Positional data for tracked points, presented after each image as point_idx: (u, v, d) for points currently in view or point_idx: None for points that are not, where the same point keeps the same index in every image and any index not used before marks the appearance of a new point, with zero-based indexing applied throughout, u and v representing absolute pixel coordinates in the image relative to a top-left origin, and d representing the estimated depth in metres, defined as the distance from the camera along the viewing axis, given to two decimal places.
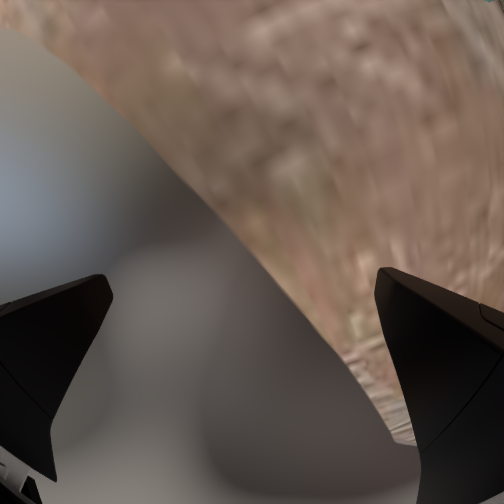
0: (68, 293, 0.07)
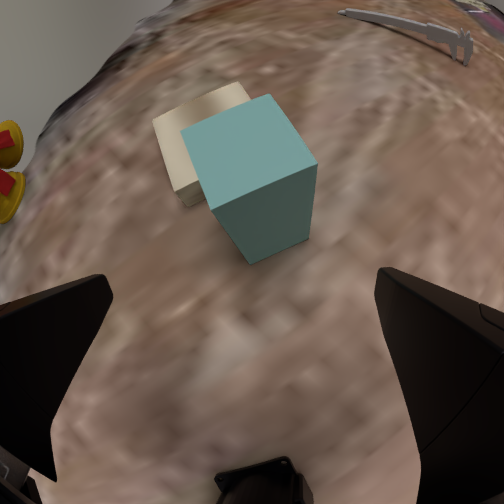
0: (68, 293, 0.07)
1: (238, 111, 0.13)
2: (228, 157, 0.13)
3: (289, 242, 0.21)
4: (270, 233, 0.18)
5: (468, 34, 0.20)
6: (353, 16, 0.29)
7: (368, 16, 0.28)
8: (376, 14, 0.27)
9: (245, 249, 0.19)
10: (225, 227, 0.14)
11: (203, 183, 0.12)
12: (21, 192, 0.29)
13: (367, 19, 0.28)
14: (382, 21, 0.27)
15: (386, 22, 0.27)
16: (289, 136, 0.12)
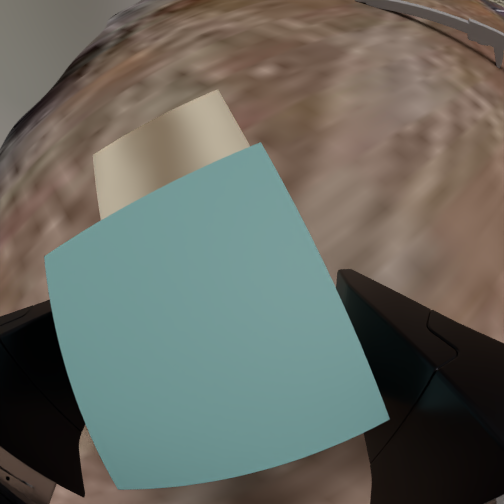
0: None
1: (167, 208, 0.05)
2: (138, 377, 0.04)
3: None
4: None
5: None
6: (375, 4, 0.21)
7: (395, 6, 0.20)
8: (405, 3, 0.19)
9: None
10: None
11: (92, 428, 0.04)
12: None
13: (393, 9, 0.20)
14: (412, 12, 0.19)
15: (418, 14, 0.19)
16: (318, 324, 0.04)
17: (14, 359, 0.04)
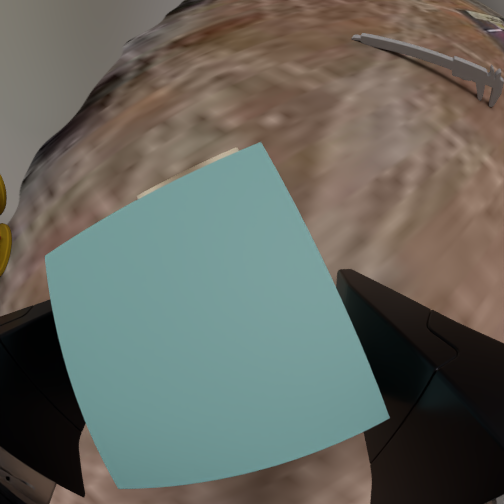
0: None
1: (167, 208, 0.05)
2: (138, 376, 0.04)
3: None
4: None
5: (499, 73, 0.18)
6: (369, 43, 0.27)
7: (387, 45, 0.26)
8: (396, 42, 0.25)
9: None
10: None
11: (92, 427, 0.04)
12: (7, 249, 0.27)
13: (385, 47, 0.26)
14: (402, 51, 0.25)
15: (407, 52, 0.25)
16: (318, 323, 0.04)
17: (14, 359, 0.04)
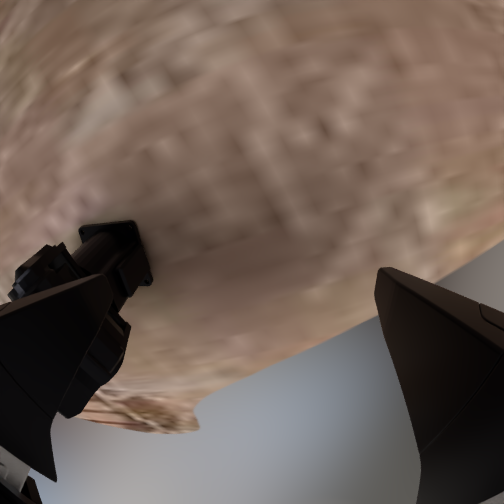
0: (68, 293, 0.07)
1: None
2: None
3: None
4: None
5: None
6: None
7: None
8: None
9: None
10: None
11: None
12: None
13: None
14: None
15: None
16: None
17: None
